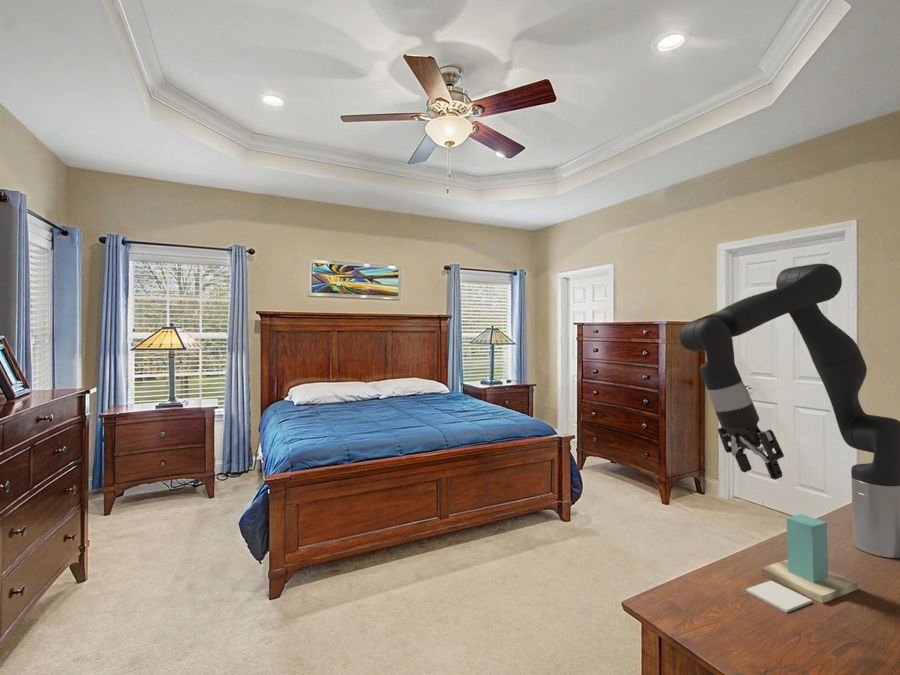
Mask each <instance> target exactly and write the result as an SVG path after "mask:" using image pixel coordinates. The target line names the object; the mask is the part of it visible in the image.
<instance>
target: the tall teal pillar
mask: <svg viewBox="0 0 900 675" xmlns="http://www.w3.org/2000/svg"><path fill="white" fill-rule="evenodd" d="M827 525H828V523H827V522H826V521H823V520H820V519H819V518H815V517H812V516H809V515H805V514H803V513H800V514H796V515H792V516H789V517H786V531H787V532H786V538H787V540H786V543H787V548H786V549H787V559H788V572H790V573H792V574H794V575H796V576H798V577H801V578H803V579H805V580H807V581H810V582H812V583H816V582H818V581H821V580H824V579H826V578H828V570H829V567H828V565H829V564H828V562H829V561H828V559H829V558H828V526H827Z"/></svg>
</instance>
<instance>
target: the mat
mask: <svg viewBox="0 0 900 675" xmlns="http://www.w3.org/2000/svg"><path fill="white" fill-rule="evenodd" d="M745 592H746V593H748V594H750V595H752V596H754V597H756V598H757V599H759V600H761V601H763V602H765V603H767V604H769V605H771V606H772V607H774V608H777V609H779V610H780V611H782V612H784V613H786V614H787V613H791V612H793V611H794V610H797V609H800V608H802V607H805V606H808V605H810V604H812V603H813V599H812V598H809V597H807V596H805V595H803V594H801V593H799V592H797V591H795V590H793V589H791V588H789V587H787V586H785V585H783V584H780V583H778V582H776V581H774V580H768V581H765V582H763V583H759V584H757V585H754V586H750V587H748V588H746V589H745Z"/></svg>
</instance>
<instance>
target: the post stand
mask: <svg viewBox="0 0 900 675" xmlns="http://www.w3.org/2000/svg"><path fill="white" fill-rule="evenodd" d="M761 575H762V576H764V577H766V578H768V579H771V581H773V582H775V583H777V584H780V585H782V586H784V587H786V588H788V589H790V590H792V591H794V592H796V593H798V594H800V595H802V596H805V597H807V598H809V599H811V600H814V601H816V602H819V603H821V604H825V603H828V602H829V601H832V600H834V599H836V598H839V597H842V596H844V595H847V594H850V593H852V592H854V591H857V590H858V587H859V586H858V581H855V580H853V579H851V578H848V577H846V576H843V575H841V574H838V573H836V572H834V571H832V570H829V569H828V578H826V579H824V580H821V581H818V582H816V583H812V582H810V581H807V580H805V579H803V578H801V577H798V576H796V575H794V574H792V573H790V572H788V558H787V559H785V560H781V561H778V562H776V563H775V562H774V563H772V564H769V565H766V566H763V567H761Z"/></svg>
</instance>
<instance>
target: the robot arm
mask: <svg viewBox="0 0 900 675" xmlns="http://www.w3.org/2000/svg"><path fill="white" fill-rule="evenodd" d="M842 283H843V280H842V275H841V272H840V271H839V270H838V269H837V267H835V266H834V265H832V264H829V263H811V264H806V265H800V266H799V265H798V266H797V265H796V266H792V267H788V268H785V269H783V270H782V271H779V273H778V275H777V277H776V283H775V287H776V288H774V289H772V290H771V289H770V290H768V291H763V292H761V293H757V294H754V295H750V296H747V297H746V298H745V297H744V298H743V299H740V300H737V301H736V302H733V303H732V304H729V305H727V306H725V307H724V308H722V309H720V310H718V311H715V312H713V313H711V314H707V315H706V316H701V317H699V318H698V319H694V320H691V321H690V322H688V323H686V324H685V325H684V326H683V327H682V328H681V329H680V332H679V335H678V336H679V342H680V345H681V346H682V347H683V348H684V349H685V350H687V351H690V352H696V353H698V352H705V354H706V361H705V362H703V363H702V364H701V365H700V367H699V372H700V375H701V377H702V379H703V382H704V385H705V387H706V389H707V392H708V395H709V396H708V397H709V399H710V403H711V405H712V408H713V409H714V412H715V415H716V416H717V419H718V421H719V424H720V427H718V429H717V432H718V434H719V437H720V440H721V443H722V445H723V448H724V451H725V452H726V453H730V454H731V455H732V457H735V460H736V462H737V464H738V467H739V468H740V471H741V472H742V473H747V472H750V471H751V470H752V465H751V463H750V461H749V459H748V456H747V454H746V453H745V452H746V449H747V450H750V451H752V453H753V454H754V455H756V456H757V455H758V456H759V457H760V458H761V459H762V461H764V465H765V467H766V470H767V472H768V475H769V477H770V479H773V480H778V479H781V478H782V477H783V472H782V469H781V467H780V464H779V462H778V460H780V459H782V458H784V457H785V455H784V453H783V450H782V448H781V446H780V444H779V442H778V439H777V437H776V435H775V433H774V431H773V430H772V429H768V430H765V431H763V430H761V429H760V428H759V426H758V423H759V421H760V417H759V414H758V412H757V409H756V407H755V405H754V402H753V400H752V397H751V394H750V392H749V390H748V388H747V387H746V385H745V384H744V382H743V380H742V379H743V378H742V376H741V375H740V372H739V370H738V368H737V365H736V363H735V351H734V344H733V337H738V336H741V335H744V334H745V333H747V332H750V331H751V330H753V329H755V328H757V327H760V326H762V325H764V324H766V323H768V322H770V321H773V320H774V319H777V318H779V317H782V316H784V315H786V314H788V315H789V316H790V317H791V319H792V320H793V323H794V324H795V326H796V328H797V330H798V332H799V334H800V335H801V337H802V340H803V341H804V342H803V343H804V344H805V346H806V348H807V350H808V352H809V355H810V358H811V361H812V363H813V365H814V367H815V369H816V372H817V374H818V375H819V377H820V380H821V381H822V384H823V386H824V388H825V390H826V391H825V392H826V393H827V396H828V399H829V400H830V404H831V407H832V409H833V413H834V416H835V417H834V418H835V419H836V422H837V423H836V424H837V426H838V429H839V432H840V435H841V437H842V439H843V441H844V443H846V445H847V446H849V447H850V448H853V449H855V450H860V451H861V452H862V451H864V452H868V453H873V459H872V462H869V463H868V462H867V463H857V464H853V466H851V469H850V470H851V471H850V472H851V474H850V475H851V476H850V477H851V479H850V480H851V509H852V511H851V512H852V544H853V546H854V547H855V548H856V549H859V550H860V551H862V552H865V553H867V554H871V555H875V556H878V557H883V558H888V559H890V558H891V559H898V558H900V420H898V419H896V418H893V417H887V416H880V415H874V414H873V415H872V414H867V413H866V412H865V411H864V410H863V407H862V406H861V403H860V401H859V393H860V392H859V391H860V390H861V388H862V386H863V384H864V382H865V379H866V376H867V370H868V369H867V365H866V361H865V359H864V357H863V354H862V352H861V350H860V347H859V345H858V344H857V342H856V341H855V340H854V339H853V338H852V337H851V336H850V335H849V334H847V333H846V331H844V330H842V329H841V328H840V327H839V326H837V325H836V324H834V323H833V322H832V321H831V320H829V319H828V317H827V316H825V314H824V313H823V312H822V310H821V309H820V307H819V306H818V304H820V303H824V302H827V301H831V300H832V299H834V298H835V297H836V296H837V295H838V294H839V293H840V291H841V289H842V285H843V284H842ZM729 444H730V445H729ZM761 445H762V446H761ZM773 449H774V451H773ZM765 453H766V454H767V455H766V454H765Z"/></svg>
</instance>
